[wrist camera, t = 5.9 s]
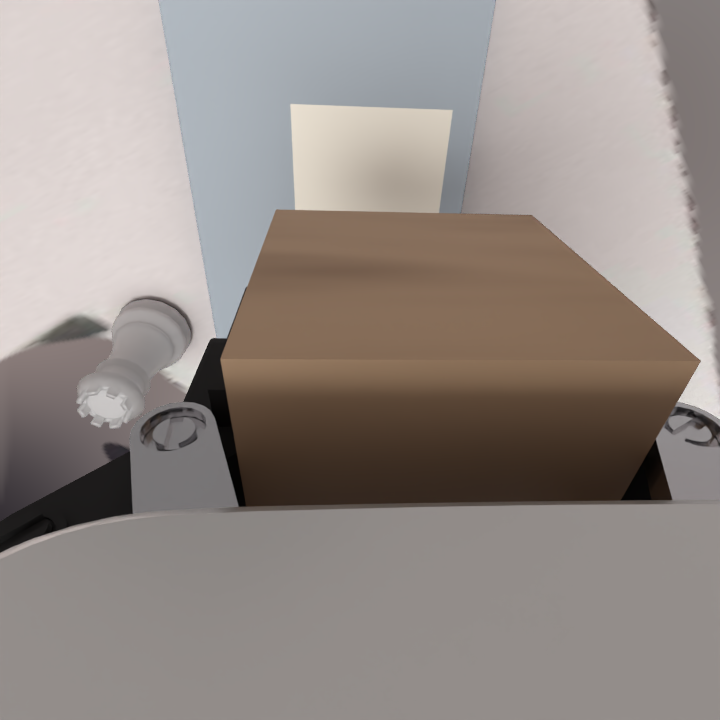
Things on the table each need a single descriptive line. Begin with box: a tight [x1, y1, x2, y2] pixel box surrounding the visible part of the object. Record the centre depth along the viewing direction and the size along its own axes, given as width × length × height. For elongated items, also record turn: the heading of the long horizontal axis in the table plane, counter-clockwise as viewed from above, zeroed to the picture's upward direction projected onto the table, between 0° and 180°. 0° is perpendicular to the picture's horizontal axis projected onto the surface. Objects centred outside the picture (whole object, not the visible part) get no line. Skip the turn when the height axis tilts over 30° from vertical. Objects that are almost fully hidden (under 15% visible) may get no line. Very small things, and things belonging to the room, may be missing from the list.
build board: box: [158, 0, 496, 338], centre depth 24 cm, size 21×14×1 cm, turn 178°
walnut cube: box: [220, 209, 700, 507], centre depth 10 cm, size 6×6×6 cm
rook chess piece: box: [76, 299, 191, 429], centre depth 25 cm, size 4×4×8 cm
